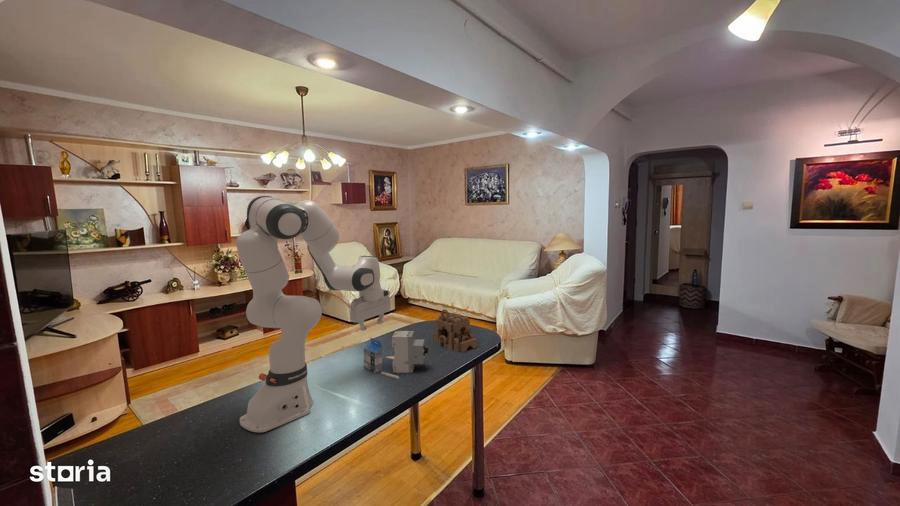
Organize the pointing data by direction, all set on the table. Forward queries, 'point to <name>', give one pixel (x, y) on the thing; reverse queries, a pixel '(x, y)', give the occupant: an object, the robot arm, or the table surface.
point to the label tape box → (373, 356)
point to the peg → (390, 375)
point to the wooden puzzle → (454, 332)
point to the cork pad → (391, 357)
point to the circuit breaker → (407, 351)
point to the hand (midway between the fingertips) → (371, 326)
